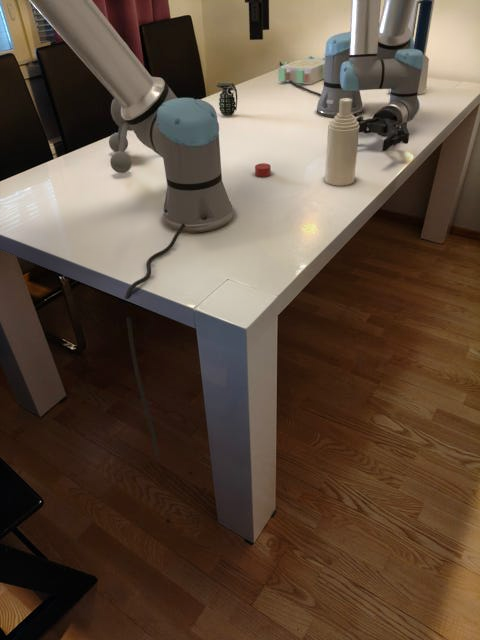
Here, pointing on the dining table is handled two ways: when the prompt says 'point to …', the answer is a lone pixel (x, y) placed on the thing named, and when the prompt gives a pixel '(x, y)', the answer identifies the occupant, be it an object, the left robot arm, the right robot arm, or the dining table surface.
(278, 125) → the dining table surface
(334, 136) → the bottle
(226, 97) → the grenade
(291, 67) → the decorative block
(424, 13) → the electronic device
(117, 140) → the molecular model
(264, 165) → the cap
